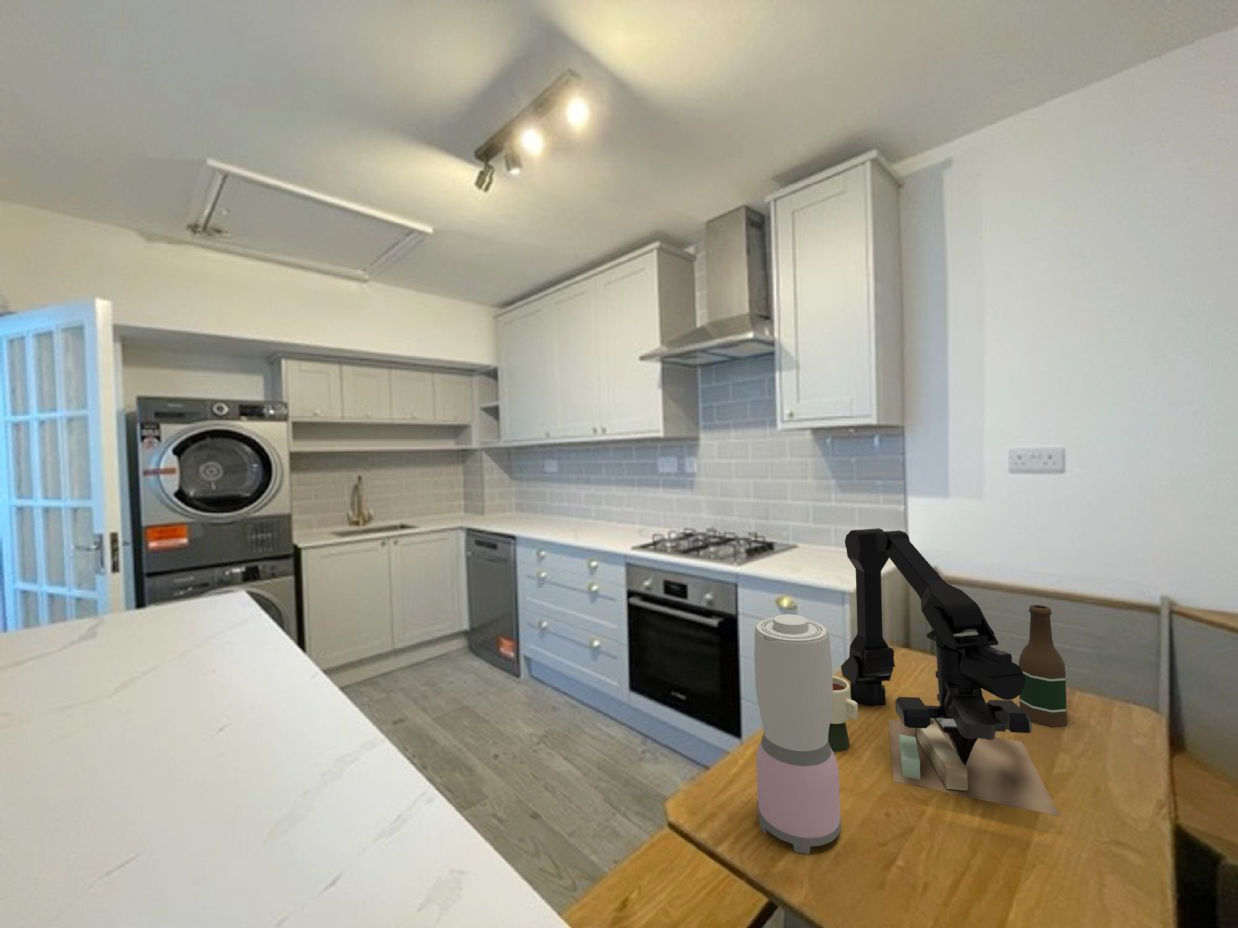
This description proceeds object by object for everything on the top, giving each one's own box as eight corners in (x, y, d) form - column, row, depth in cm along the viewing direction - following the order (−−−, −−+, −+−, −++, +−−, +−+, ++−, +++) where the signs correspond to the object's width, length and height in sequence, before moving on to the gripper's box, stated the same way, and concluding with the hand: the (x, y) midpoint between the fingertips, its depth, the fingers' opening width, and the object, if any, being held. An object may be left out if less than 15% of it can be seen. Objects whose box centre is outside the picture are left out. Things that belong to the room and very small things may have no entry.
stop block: (902, 775, 87) (902, 758, 87) (899, 750, 94) (899, 734, 94) (920, 779, 86) (919, 762, 86) (916, 753, 93) (915, 737, 93)
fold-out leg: (913, 732, 99) (912, 714, 99) (931, 734, 98) (930, 716, 98) (946, 788, 83) (945, 767, 83) (968, 790, 82) (967, 769, 82)
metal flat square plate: (893, 789, 86) (893, 780, 86) (888, 726, 105) (888, 719, 105) (1060, 825, 76) (1060, 815, 76) (1021, 749, 95) (1021, 741, 95)
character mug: (870, 755, 96) (867, 686, 95) (848, 770, 91) (846, 699, 91) (817, 731, 104) (815, 668, 104) (796, 743, 100) (793, 678, 100)
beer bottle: (1057, 717, 105) (1054, 601, 105) (1077, 737, 98) (1073, 613, 98) (1012, 712, 108) (1009, 599, 107) (1028, 732, 101) (1024, 611, 100)
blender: (815, 869, 71) (807, 640, 70) (741, 824, 80) (733, 621, 79) (864, 812, 81) (857, 612, 80) (794, 778, 90) (787, 598, 89)
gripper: (911, 692, 81) (918, 789, 81) (1048, 696, 77) (1055, 799, 77) (891, 663, 92) (897, 749, 92) (1010, 666, 88) (1016, 756, 88)
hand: (962, 763), depth 87 cm, fingers closed
